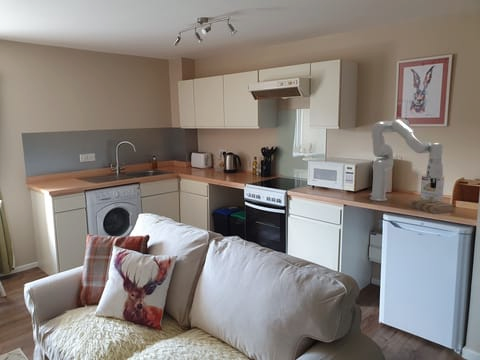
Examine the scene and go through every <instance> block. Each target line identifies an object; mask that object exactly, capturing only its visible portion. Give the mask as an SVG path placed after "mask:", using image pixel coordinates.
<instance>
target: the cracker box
mask: <svg viewBox="0 0 480 360" xmlns="http://www.w3.org/2000/svg"><path fill="white" fill-rule="evenodd" d="M444 183H445V176H444V175H443V176H442V178H441V179H439V180H438V181H437V182H436V188H430V186H431V182H430V180H427V176H426V174H422V175H421V182H420V194H419V200H420V199H429V197H430V196H434V197H435V200H437V201H441V202H443V198H444V197H443V194H444V186H445V184H444Z"/></svg>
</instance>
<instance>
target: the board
mask: <svg viewBox="0 0 480 360" xmlns="http://www.w3.org/2000/svg"><path fill="white" fill-rule="evenodd" d="M410 208H412V209H416V210H419V211H423V212H426V213H431V214H433V215H436V214H445V213H444V212H446V213H453V212H454V204H452V203H449V202H444V201H442V202H441V201H437V200H434V203H429V199H420V198H419V199H413V200H411V201H410Z"/></svg>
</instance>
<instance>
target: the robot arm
mask: <svg viewBox="0 0 480 360" xmlns="http://www.w3.org/2000/svg"><path fill="white" fill-rule="evenodd" d="M383 133H397V134H398V135H399V136H400V137H401V138H403V139H404V140H405V143H406V145H408V147H409V148H410V149H411V150H413V151H414V152H415V153H417V154H429V155H428V163H427V165H426V166H427V167H426V176H427V180H430V182H431V186H430V188H436V182H437V181H438V180H439V179H441V178H442V176H443V177H444V167H443V166H444V165H443V163H442V158H443V146H444V145H443V143H441V142H430V141H420V140H419V139H418V138H416V136H415V133H416V131H415V129H413V127H411V126H410V121H409V120H408V119H405V118H397V119H393V120H391V121H390V120H384V121H383V120H382V121H381V120H380V121H377V122H376V123H374V124H373V126H372V128H371V137H372V147H373V148H372V150H373V156H374V157H377V159H375V160H374V161H373V162H372V172H373V173H372V175H373V177H372V192H371V193H369V195H370V197H369V200H372V201H376V202H377V201H378V202H385V201H388V197H386V192H387V190H386V189H387V173H386V171H390V170H392V168H393V167H394V154H393V148H392V146H391V145H389V144H385V143H386V141H385V137H384V135H383Z"/></svg>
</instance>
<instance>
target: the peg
mask: <svg viewBox="0 0 480 360" xmlns="http://www.w3.org/2000/svg"><path fill="white" fill-rule="evenodd" d="M434 200H435V197H434V196H430V197H429V203H434Z"/></svg>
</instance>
